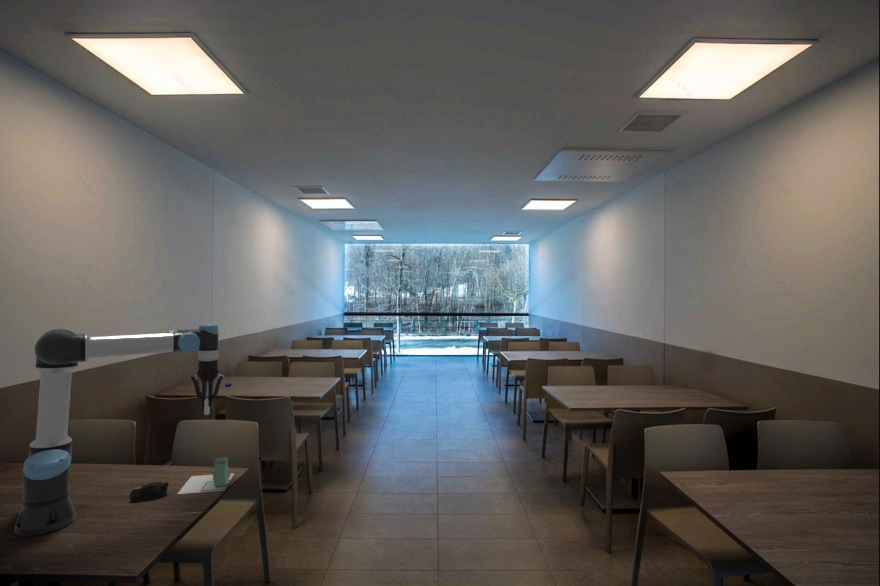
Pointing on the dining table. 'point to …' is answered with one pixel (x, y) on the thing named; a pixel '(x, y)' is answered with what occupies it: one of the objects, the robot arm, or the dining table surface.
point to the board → (202, 484)
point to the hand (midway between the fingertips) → (206, 414)
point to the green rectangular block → (220, 471)
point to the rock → (149, 491)
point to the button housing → (227, 473)
